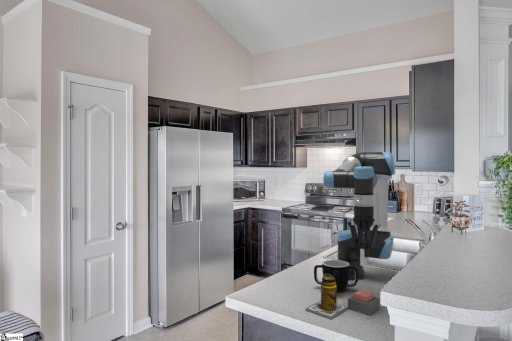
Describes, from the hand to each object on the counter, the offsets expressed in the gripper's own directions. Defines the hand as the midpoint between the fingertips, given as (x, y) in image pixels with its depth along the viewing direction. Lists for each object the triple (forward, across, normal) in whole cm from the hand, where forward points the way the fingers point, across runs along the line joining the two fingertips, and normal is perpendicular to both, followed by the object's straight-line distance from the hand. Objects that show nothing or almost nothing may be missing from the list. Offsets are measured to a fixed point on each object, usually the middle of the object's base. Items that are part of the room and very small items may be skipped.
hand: (363, 264), depth 136 cm
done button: (+14, 0, 0) cm, 14 cm away
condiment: (+17, -10, -11) cm, 22 cm away
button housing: (+17, 0, 0) cm, 17 cm away
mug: (+18, -19, +11) cm, 28 cm away
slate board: (+17, -10, -11) cm, 23 cm away
